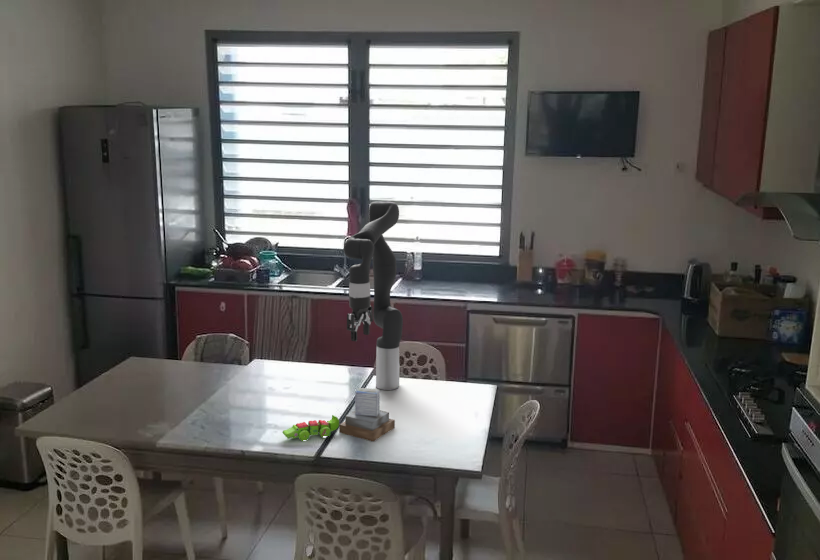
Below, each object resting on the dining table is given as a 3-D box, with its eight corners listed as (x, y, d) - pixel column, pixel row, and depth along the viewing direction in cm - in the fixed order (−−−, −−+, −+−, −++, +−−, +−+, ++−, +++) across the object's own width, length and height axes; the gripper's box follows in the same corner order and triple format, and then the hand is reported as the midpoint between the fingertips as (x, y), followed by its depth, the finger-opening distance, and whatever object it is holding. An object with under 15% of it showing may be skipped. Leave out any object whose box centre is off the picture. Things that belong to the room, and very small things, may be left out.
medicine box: (379, 412, 269) (380, 389, 267) (377, 417, 265) (377, 393, 263) (357, 410, 270) (357, 387, 269) (354, 415, 266) (355, 391, 264)
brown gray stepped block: (361, 419, 278) (361, 403, 277) (394, 427, 271) (394, 411, 270) (339, 432, 266) (339, 416, 265) (373, 441, 259) (373, 425, 258)
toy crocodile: (286, 444, 256) (285, 427, 254) (280, 437, 262) (280, 420, 260) (342, 436, 264) (342, 419, 263) (335, 428, 270) (335, 412, 269)
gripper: (361, 288, 282) (361, 331, 286) (340, 297, 270) (340, 341, 273) (378, 291, 279) (379, 334, 282) (358, 299, 266) (359, 344, 270)
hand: (360, 337), depth 278 cm, fingers open, 8 cm apart
